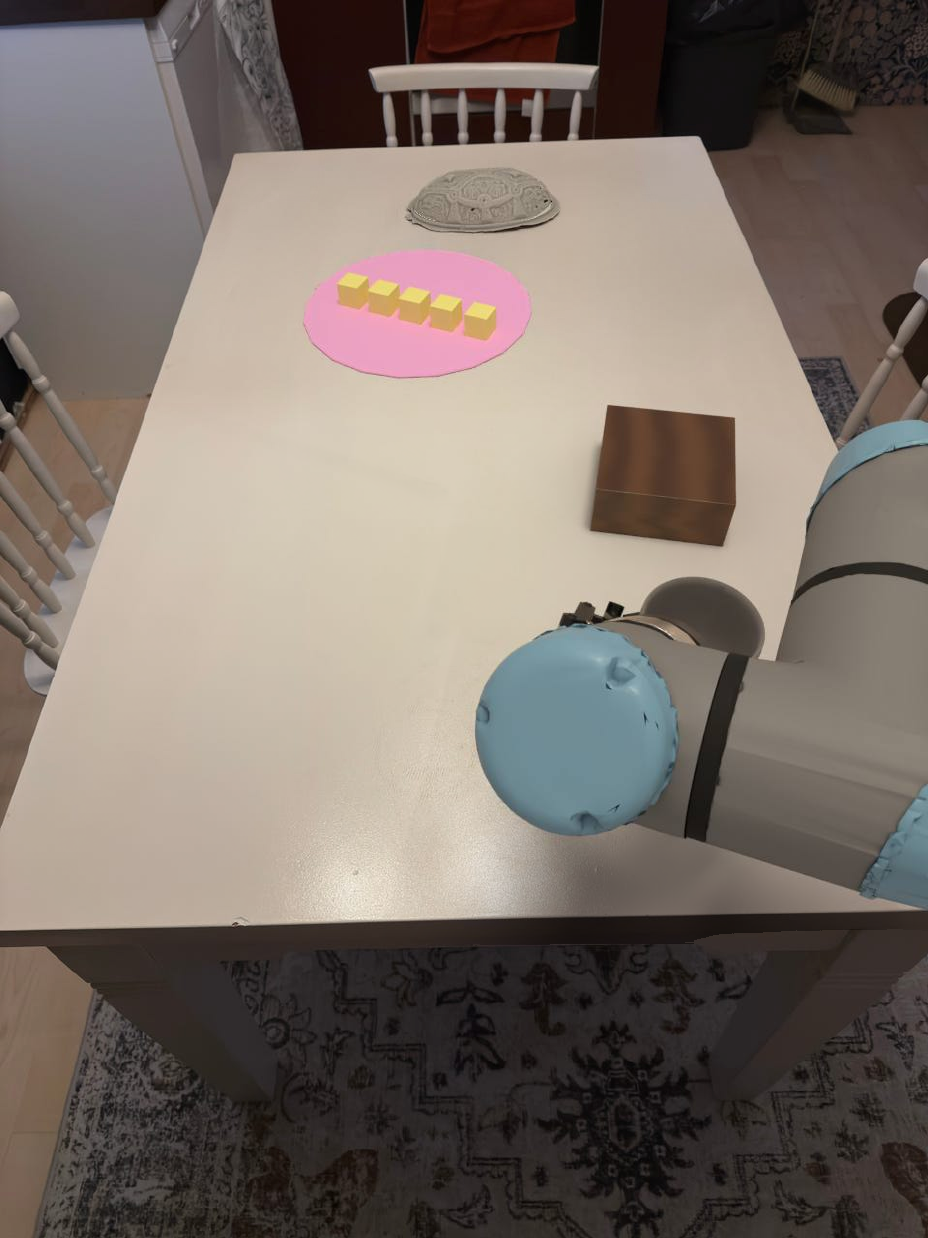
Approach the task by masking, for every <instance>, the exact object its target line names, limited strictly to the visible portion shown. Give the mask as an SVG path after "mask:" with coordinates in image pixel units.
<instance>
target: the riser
mask: <svg viewBox="0 0 928 1238" xmlns="http://www.w3.org/2000/svg"><path fill="white" fill-rule="evenodd" d="M736 457H737V455H736V417H733V416H724V415H714V414H704V413H703V414H702V413H693V412H685V411H675V410H674V411H672V410H664V409H653V408H645V407H644V408H643V407H634V406H623V405H615V404H607V405H606V412H605V419H604V427H603V434H602V442H601V448H600V456H599V463H598V470H597V477H596V484H595V491H594V499H593V505H592V506H593V507H592V512H591V513H592V514H591V519H590V521H591V522H590V528H589V529H590V531H593V532H594V531H595V532H602V533H611V534H619V535H629V536H635V537H636V536H637V537H644V538H651V539H652V538H653V539H662V540H668V541H669V540H671V541H678V542H686V543H694V544H701V545H702V544H703V545H710V546H718V547H723V546H724V545H725V541H726V538H727V535H728V531H729V528H730V525H731V523H732V519H733V516H734V513H735V510H736V507H737V475H736V474H737V472H736V469H737V464H736V463H737V461H736Z"/></svg>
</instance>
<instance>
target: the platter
mask: <svg viewBox="0 0 928 1238" xmlns="http://www.w3.org/2000/svg"><path fill="white" fill-rule="evenodd" d="M531 317H532V308H531V301H530V295H529V292H528V291H527V290H526V288H525V287H524V285H522V284H521V282H520V280H519V279H517V277H516V276H515V275H514V274H513V273H511V272H509V271H508V270H506V269H504V268H503V267H501V266H499V265H498V264H496V263H495V262H492V261H489V260H486V259H484V258H480V257H477V256H474V255H472V254H468V253H463V252H457V251H448V250H440V249H417V250H415V249H414V250H399V251H394V252H388V253H384V254H379V255H375V256H370V257H367V258H365V259H362V260H360V261H357V262H354V263H352V264H349V265H347V266H344V267H342V268H340V269H339V270H337V271H336V272H335V273H332V274H331V276H329V277H327V278H326V279H325V280H324V281H322V282H321V283H319V284H318V286H317V287H316V289H315V290H314V291H313V293H312V294H311V296H310V297H309V298H308V299H307V301H306V302H305V310H304V316H303V325H304V328H305V330H306V332H307V335H308V337H309V339H310V341H311V344H312V345H314V346H315V347H316V348H317V349H318V350H319V351H320V352H322V353H323V354H324V355H325V356H327V358H329V359H330V360H331V361H333V362H336V363H338V364H340V365H343V366H345V367H347V368H350V369H353V370H355V371H357V372H360V373H363V374H368V375H369V374H370V375H376V376H383V377H389V378H396V379H408V378H412V379H413V378H432V377H433V378H434V377H441V376H446V375H449V374H454V373H456V372H457V373H458V372H462V371H466V370H470V369H474V368H476V367H479V366H480V365H482V364H484V363H487V362H488V361H491V360H493V359H495V358H497V357H499V356H500V355H502V354H504V353H506V352H507V350H508V349H510V347H512V346H513V345H514V344H515V343H516V342H517V341H518V340H519V339H521V337H522V336H523V335H524V333H525V331H526V328H527V326H528V323H529V322H530V319H531Z"/></svg>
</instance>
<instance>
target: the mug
mask: <svg viewBox="0 0 928 1238" xmlns="http://www.w3.org/2000/svg"><path fill="white" fill-rule="evenodd" d="M639 612H640V613H639V615H641V614H660V615H666V616H670V617H673V618H676V619H678V620H680V621H683V622H684V623H686V624H688V625H689V626H691V627H692V628H694V629H695V630H696V631H697V632H698V633H699V634H701V635H702V637H703V638H704V639H705V640H706V641H707V643H708V644H709V645H710V647H711V649H715V650H719V651H723V652H727V653H730V652H733V653H738V654H742V655H747V656H749V657H750V656H751V657H752V658H756V659H760V655H761V654H762V651H763V648H764V646H765V642H766V641H765V640H766V627H765V623H764V621H763V618H762V616H761V613H760V612H759V610H758V609H757V607H756V606H755V604H754V603H753V602H752V601H751V600H750V599H749V598H748V597H747V596H746V595H745V594H743V592H741V591H739V590H738V589H736V588H735V587H734V586H731V585H729V584H727V583H725V582H722V581H720V580H717V579H714V578H710V577H703V576H681V577H676V578H673V579H670V580H667V581H665V582H662V583H661V584H659V585H658V586H656V587H655V588H653V589H652V591H650V592H649V594H648V595H647V596H646V598H645V599H644V601H643V603H642V606H641V608H640V610H639Z"/></svg>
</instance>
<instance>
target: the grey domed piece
mask: <svg viewBox="0 0 928 1238" xmlns="http://www.w3.org/2000/svg"><path fill="white" fill-rule="evenodd" d="M541 189H542V190H541ZM545 201H546V202H545ZM551 201H552V202H551ZM551 203H552V204H551ZM550 204H551V207H550V209H549V210H548V211H547V212H546V213H544V214H542V215H540V216H538V217H536V218H533V217H534V216H537V215H538V214H540V213H541V212H542V211H544V210H545V209H546V208H547V207H549V205H550ZM560 209H561V204H560V201H559V199H558V198H557V197H556V196H554V195H553V194H552V193H551V192H550V191H549V189H548V187H547V186H546V184H545V183H544V182H543V181H542V180H540V179H538V178H537V177H536V176H534V175H532V174H530V173H528V172H526V171H523V170H520V169H517V168H515V167H511V166H509V167H505V166H504V167H503V166H502V167H501V166H500V167H478V168H471V169H470V168H469V169H457V170H456V169H455V170H453V171H448V172H446V173H444V174H442V175H440V176H437V177H436V178H434V179H433V180H431V181H430V182H429V183H427V185H425V186H424V187H422V188H421V189H420V190H419V192H418V194H417V195H415V196H414V198H412V199H411V200H410V201H409V202H408V204H407V205H406V210H409V211H410V213H405V217H406V219H407V220H408V221H411V222H412V223H413V224H418V225H421V226H422V227H424V228H426V229H428V230H430V231H435V232H441V233H444V232H448V233H449V232H463V233H480V232H484V233H487V232H496V231H502V230H506V229H512V228H519V227H521V226H533V225H538V224H540V223H544V222H547V221H549V220H550V219H553V218H555V217H556V216H557V215H558V214H559V213H560V211H561V210H560ZM414 210H415V211H416V212H417V213H418V214H417V213H416V212H415V211H414ZM419 214H420V215H421V216H420V215H419ZM422 216H423V217H422ZM424 217H425V218H424ZM426 218H427V219H426ZM531 218H533V219H531ZM429 219H431V220H429ZM528 219H530V220H528ZM433 220H435V221H433ZM526 220H527V221H526Z"/></svg>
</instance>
